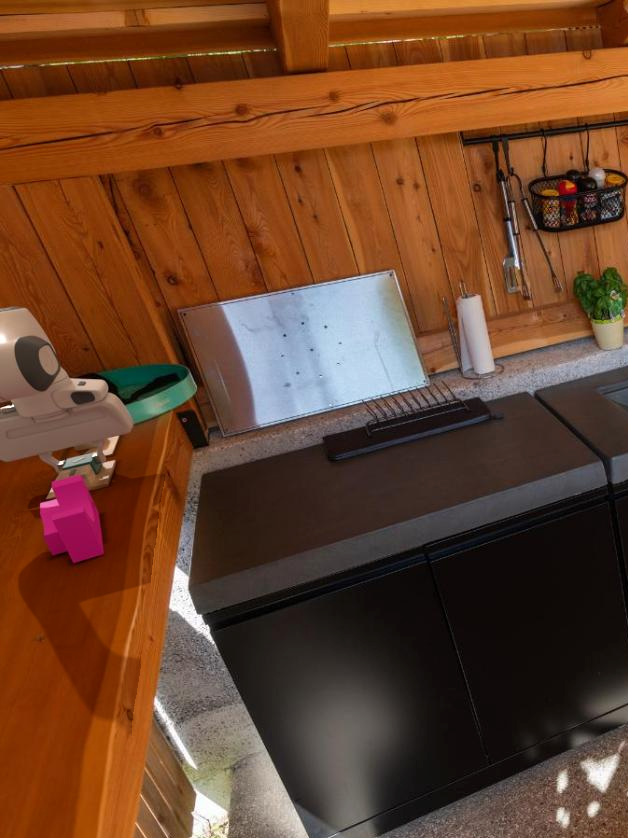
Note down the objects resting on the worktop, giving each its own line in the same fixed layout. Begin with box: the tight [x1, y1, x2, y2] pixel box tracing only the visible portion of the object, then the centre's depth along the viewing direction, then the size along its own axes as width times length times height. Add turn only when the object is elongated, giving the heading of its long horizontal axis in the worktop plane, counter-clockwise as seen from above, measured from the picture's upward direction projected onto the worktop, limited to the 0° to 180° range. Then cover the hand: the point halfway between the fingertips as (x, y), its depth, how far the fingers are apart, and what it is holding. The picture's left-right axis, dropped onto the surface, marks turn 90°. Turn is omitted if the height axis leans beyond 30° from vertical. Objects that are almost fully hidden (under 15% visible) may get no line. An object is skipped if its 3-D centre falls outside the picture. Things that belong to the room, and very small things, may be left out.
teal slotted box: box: [62, 452, 102, 474], centre depth 139 cm, size 4×4×3 cm
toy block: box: [39, 475, 105, 564], centre depth 117 cm, size 15×6×8 cm, turn 38°
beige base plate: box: [45, 459, 117, 501], centre depth 137 cm, size 9×11×3 cm
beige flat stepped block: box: [73, 435, 121, 458], centre depth 149 cm, size 9×11×3 cm
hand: (83, 467), depth 140 cm, fingers closed on teal slotted box, 4 cm apart
